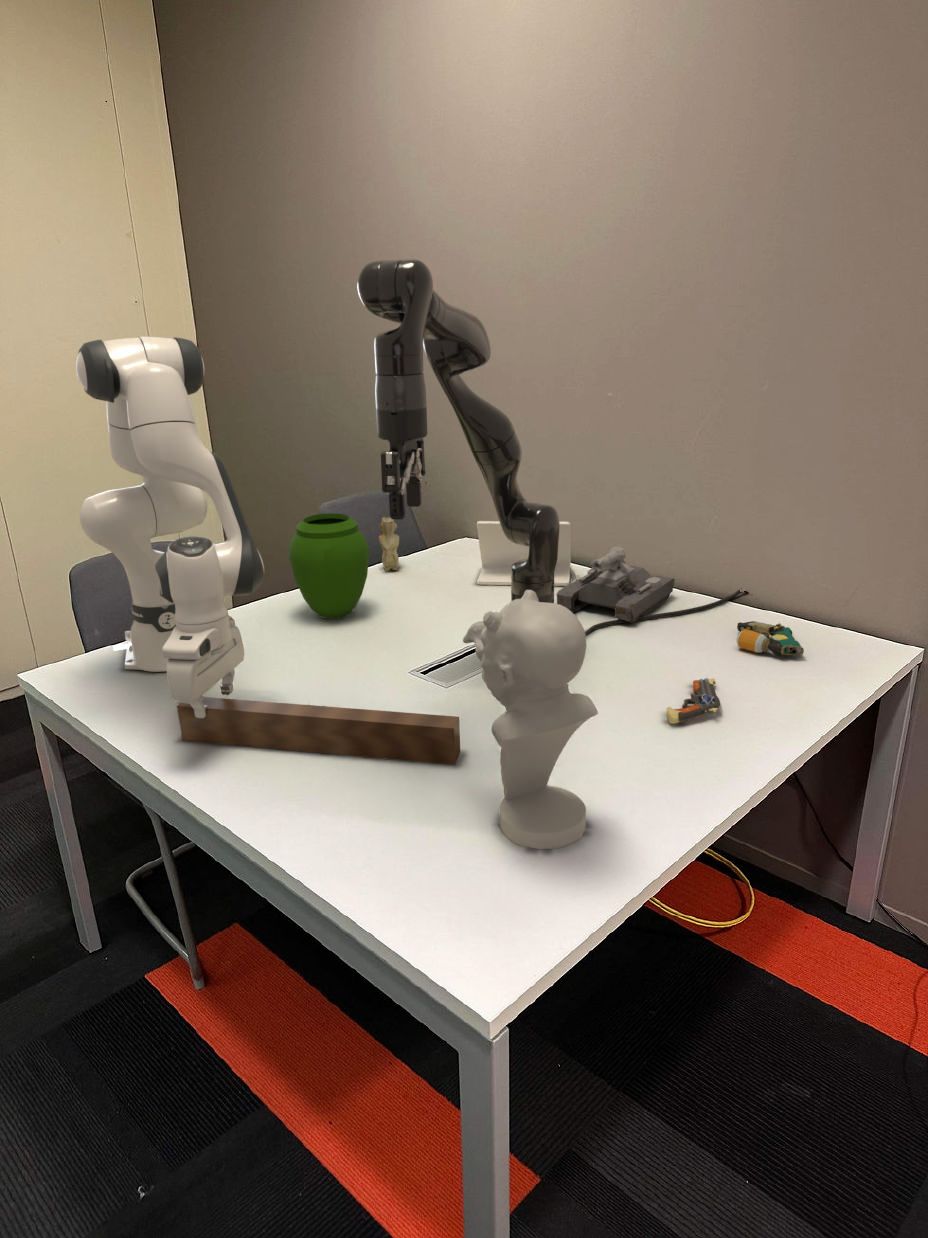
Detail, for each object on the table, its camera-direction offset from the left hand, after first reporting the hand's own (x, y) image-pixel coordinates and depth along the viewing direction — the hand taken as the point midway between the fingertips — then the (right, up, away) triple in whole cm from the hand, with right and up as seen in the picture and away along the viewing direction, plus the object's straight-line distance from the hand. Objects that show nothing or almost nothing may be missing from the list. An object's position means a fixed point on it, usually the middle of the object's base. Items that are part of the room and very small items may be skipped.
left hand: (215, 704), depth 152 cm
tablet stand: (+61, +27, +87) cm, 110 cm away
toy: (+83, +19, +62) cm, 105 cm away
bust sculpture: (+53, -15, -23) cm, 60 cm away
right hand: (+35, +32, -20) cm, 51 cm away
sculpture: (+23, +30, +96) cm, 103 cm away
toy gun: (+88, -1, +10) cm, 88 cm away
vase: (+12, +16, +62) cm, 65 cm away
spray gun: (+111, +10, +36) cm, 117 cm away
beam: (+19, -7, -1) cm, 20 cm away
